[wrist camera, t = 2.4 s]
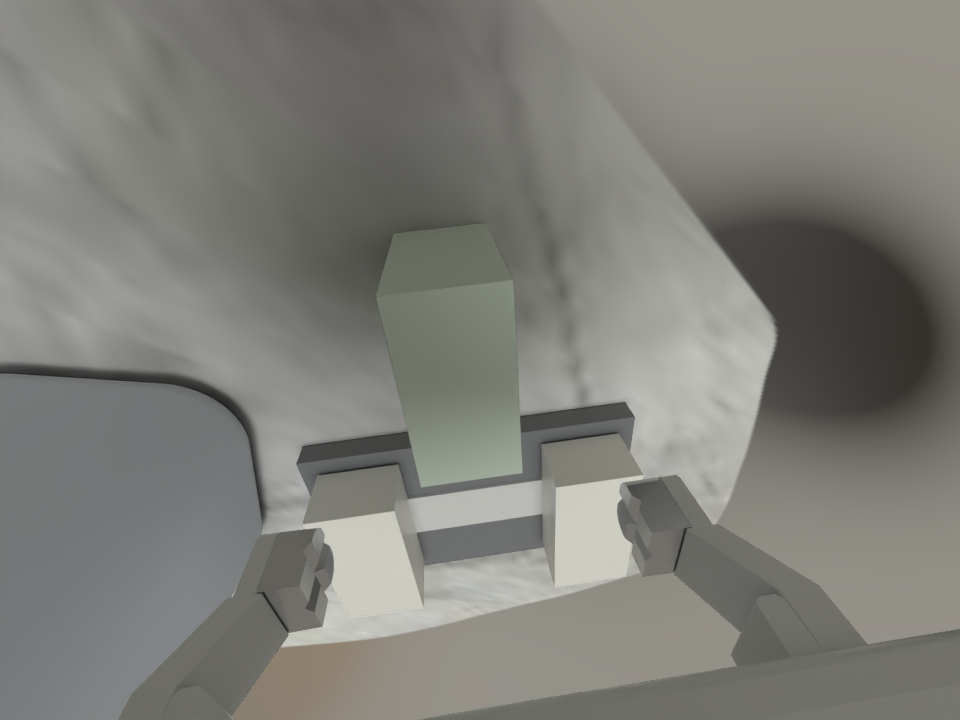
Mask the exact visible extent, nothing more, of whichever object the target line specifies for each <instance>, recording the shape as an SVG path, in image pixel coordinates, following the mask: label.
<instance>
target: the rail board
mask: <svg viewBox="0 0 960 720" xmlns="http://www.w3.org/2000/svg"><path fill="white" fill-rule="evenodd" d="M634 419H635V417H634V415H633V414H632V412H631V411H630V409H629V408H628V406H627V405H626V403H618V404H611V405H604V406H597V407H589V408H582V409H575V410H567V411H560V412H553V413H545V414H538V415H531V416H524V417H520V430H521V450H522V471H523V473H519V474H512V475H505V476H498V477H491V478H484V479H477V480H470V481H463V482H456V483H449V484H442V485H435V486H428V487H421V485H420V481H419V477H418V473H417V468H416V464H415V460H414V456H413V452H412V447H411V443H410V439H409V435H408V432H407V433H400V434H392V435H385V436H378V437H371V438H363V439H356V440H349V441H341V442H334V443H327V444H320V445H312V446H305V447H303V448H302V450H301V453H300V456H299V458H298V461H297V467H298V469H299V471H300V473H301V475H302V478H303V480H304V482H305V484H306V487H307V489H308V491H309V493H310V495H311V498H310V501H309V504H308V507H307V511H306V514H305V517H304V521H303V524H302V525H303V527H304V529H313V528H322V530H323V532H324V534H325V538H324V543H326V544H327V545H329V546H330V547H331V550H332V552H333V558H334V573H333V578H332V583H331V584H332V586H333V588H334V590H335V592H336V594H337V596H338V598H339V600H340V602H341V604H342V606H343V608H344V610H345V612H346V614H347V616H348V618H349V619H356V618H362V617H369V616H375V615H381V614H388V613H394V612H401V611H407V610H414V609H420V608H424V565H430V564H437V563H444V562H450V561H457V560H463V559H470V558H477V557H483V556H490V555H497V554H503V553H510V552H516V551H523V550H530V549H536V548H543V547H544V549H545V553H546V556H547V560H548V564H549V568H550V572H551V576H552V579H553V583H554V587H561V586H568V585H574V584H581V583H587V582H593V581H600V580H606V579H613V578H619V577H626V573H627V567H628V561H629V556H630V550H631V544H632V543H631V542H629V541H628V540H627V539H625V538H624V535H623V533H622V531H621V528H620V525H619V522H618V515H617V505H618V502H619V501H620V500H621V499H622V497H621V495H620V493H619V489H620V485H621V484H622V483H624V482H630V481H636V480H643V474H642V472H641V470H640V468H639V467H638V465H637V463H636V462H635V460H634V458H633V456H632V455H631V453H630V447H631V440H632V433H633V426H634Z"/></svg>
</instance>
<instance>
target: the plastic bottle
mask: <svg viewBox="0 0 960 720" xmlns="http://www.w3.org/2000/svg"><path fill="white" fill-rule="evenodd" d="M261 532H262V518H261V512H260V506H259V499H258V493H257V487H256V481H255V475H254V469H253V462H252V456H251V450H250V444H249V440H248V436H247V434H246V432H245V430H244V428H243V426H242V425H241V423H240V422H239V421H238V419H237V418H236V417H235V416H234V415H233V414H232V413H231V412H230V411H229V410H228V409H227V408H226V407H225V406H223V405H222V404H221V403H219V402H217V401H216V400H214V399H213V398H211V397H209V396H207V395H205V394H203V393H200V392H198V391H195V390H192V389H189V388H186V387H182V386H177V385H172V384H162V383H147V382H131V381H116V380H101V379H85V378H70V377H54V376H39V375H23V374H0V720H118V719H119V717H120V715H121V713H122V711H123V709H124V707H125V705H126V704H127V702H128V700H129V698H130V696H131V694H132V693H133V692H134V691H135V690H136V689H137V688H138V687H139V686H140V685H141V684H142V683H143V682H144V681H145V680H146V679H147V678H148V677H149V676H150V675H151V674H152V673H153V672H154V671H155V670H156V669H157V668H158V667H159V666H160V665H161V664H162V663H163V662H164V661H165V660H166V659H167V658H168V657H169V656H170V655H171V654H172V653H173V652H174V651H175V650H176V649H177V648H178V647H179V646H180V645H181V644H182V643H183V642H184V641H185V640H186V639H187V638H188V637H189V636H190V635H191V634H192V633H193V632H194V631H195V630H196V629H197V628H198V627H199V626H200V625H201V624H202V623H203V622H204V621H205V620H206V619H207V618H208V617H209V616H210V615H211V614H212V613H213V612H214V611H215V610H216V609H217V608H218V607H219V606H220V605H221V604H222V603H223V602H224V601H225V600H226V599H227V598H231V597H232V595H233V593H234V591H235V589H236V587H237V585H238V583H239V581H240V579H241V576H242V574H243V571H244V569H245V567H246V564H247V562H248V559H249V557H250V554H251V552H252V549H253V547H254V545H255V542H256V541H257V539H258V538H259V537H260V536H261Z"/></svg>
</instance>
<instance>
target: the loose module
mask: <svg viewBox="0 0 960 720" xmlns="http://www.w3.org/2000/svg"><path fill="white" fill-rule="evenodd" d="M376 300H377V305H378V309H379V313H380V317H381V321H382V326H383V330H384V334H385V338H386V342H387V347H388V351H389V355H390V359H391V363H392V368H393V372H394V376H395V380H396V384H397V389H398V393H399V397H400V401H401V405H402V410H403V414H404V418H405V422H406V426H407V431H408V435H409V439H410V443H411V447H412V452H413V456H414V460H415V464H416V468H417V473H418V477H419V481H420V485H421V487H428V486H435V485H442V484H449V483H456V482H463V481H470V480H477V479H484V478H491V477H498V476H505V475H512V474H519V473H523V471H522V450H521V430H520V409H519V388H518V367H517V346H516V325H515V304H514V283H513V278H512V276H511V274H510V272H509V270H508V268H507V266H506V264H505V262H504V260H503V258H502V256H501V254H500V252H499V250H498V247H497V245H496V243H495V241H494V239H493V237H492V235H491V233H490V231H489V229H488V227H487V225H486V223H479V224H471V225H462V226H454V227H445V228H436V229H428V230H419V231H411V232H402V233H394V234H393V238H392V241H391V245H390V248H389V252H388V255H387V259H386V262H385V266H384V269H383V273H382V276H381V280H380V283H379V287H378V290H377V294H376Z"/></svg>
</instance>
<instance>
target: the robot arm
mask: <svg viewBox="0 0 960 720" xmlns="http://www.w3.org/2000/svg"><path fill="white" fill-rule="evenodd" d="M619 493H620V495H621V497H622V499H621V500H620V501H619V502H618V505H617V515H618V522H619V525H620V528H621V531H622V533H623V535H624V538H625V539H627V540H628V541H629V542H631V543H632V544H633V548H632V555H633V557H634V559H635V562H636V564H637V566H638V568H639V570H640V572H641V574H642V576H643V577H644V576H652V575H659V574H668V573H675V575H676V576H677V577H678V578H679V579H680V580H681V581H683V582H684V583H685V584H686V585H687V586H688V587H689V588H691V589H692V590H693V591H694V592H695V593H696V594H697V595H699V596H700V597H701V598H702V599H703V600H704V601H705V602H707V603H708V604H709V605H710V606H711V607H712V608H713V609H715V610H716V611H717V612H718V613H719V614H720V615H721V616H723V617H724V618H725V619H726V620H727V621H728V622H729V623H731V624H732V625H733V626H734V627H735V628H736V629H737V630H739V631H740V632H741V633H740V635H739V637H738V640H737V642H736V644H735V646H734V648H733V651H732V654H731V656H732V658H733V659H734V661H735V663H736V665H737V666H735V667H729V668H723V669H717V670H711V671H705V672H699V673H693V674H686V675H680V676H675V677H669V678H662V679H656V680H650V681H644V682H638V683H632V684H626V685H620V686H614V687H609V688H603V689H596V690H591V691H584V692H578V693H572V694H566V695H561V696H554V697H548V698H542V699H537V700H530V701H524V702H518V703H512V704H506V705H500V706H494V707H488V708H482V709H477V710H471V711H464V712H458V713H452V714H446V715H440V716H434V717H428V718H422V719H417V720H960V629H957V630H951V631H945V632H939V633H933V634H927V635H921V636H915V637H909V638H903V639H897V640H891V641H885V642H880V643H873V644H867V643H866V642H865V641H864V639H863V638H862V637H861V636H860V634H859V633H858V632H857V631H856V630H855V628H854V627H853V626H852V625H851V624H850V622H849V621H848V620H847V619H846V617H844V615H843V614H842V613H841V611H840V610H839V609H838V608H837V606H836V605H835V604H834V603H833V602H832V600H831V599H830V598H829V597H828V595H827V594H826V593H825V592H824V591H823V589H822V588H821V587H820V586H819V585H818V584H816V583H814V582H813V581H811V580H809V579H808V578H806V577H805V576H803V575H801V574H800V573H798V572H796V571H795V570H793V569H791V568H789V567H788V566H786V565H785V564H783V563H781V562H780V561H778V560H776V559H775V558H773V557H772V556H770V555H768V554H767V553H765V552H763V551H762V550H760V549H758V548H756V547H755V546H753V545H752V544H750V543H749V542H747V541H745V540H744V539H742V538H740V537H739V536H737V535H735V534H734V533H732V532H730V531H729V530H727V529H726V528H724V527H722V526H720V525H719V524H714V525H713V524H712V523H711V521H710V520H709V519H708V517H707V516H706V514H705V513H704V511H703V510H702V508H701V507H700V506H699V504H698V503H697V501H696V500H695V498H694V497H693V496H692V494H691V493H690V491H689V490H688V488H687V487H686V485H685V484H684V483H683V481H682V480H681V478H680V477H678V476H677V475H671V476H665V477H658V478H656V477H655V478H649V479H643V480H636V481H630V482H624V483H622V484H621V485H620V489H619ZM324 538H325V534H324V532H323V530H322V528H313V529H305V530H296V531H288V532H280V533H272V534H265V535H261V536H260V537H259V538H258V539H257V541H256V542H255V545H254V547H253V549H252V552H251V554H250V557H249V559H248V562H247V564H246V567H245V569H244V571H243V574H242V576H241V579H240V581H239V584H238V586H237V589H236V591H235V593H234V596H233V597H232V598H227V599H226V600H225V601H224V602H223V603H222V604H221V605H220V606H219V607H218V608H217V609H216V610H215V611H214V612H213V613H212V614H211V615H210V616H209V617H208V618H207V619H206V620H205V621H204V622H203V623H202V624H201V625H200V626H199V627H198V628H197V629H196V630H195V631H194V632H193V633H192V634H191V635H190V636H189V637H188V638H187V639H186V640H185V641H184V642H183V643H182V644H181V645H180V646H179V647H178V648H177V649H176V650H175V651H174V652H173V653H172V654H171V655H170V656H169V657H168V658H167V659H166V660H165V661H164V662H163V663H162V664H161V665H160V666H159V667H158V668H157V669H156V670H155V671H154V672H153V673H152V674H151V675H150V676H149V677H148V678H147V679H146V680H145V681H144V682H143V683H142V684H141V685H140V686H139V687H138V688H137V689H136V690H135V691H134V692H133V693H132V694H131V696H130V698H129V700H128V702H127V704H126V705H125V707H124V709H123V711H122V713H121V715H120V717H119V719H118V720H235V719H234V718H233V717H232V715H233V714H234V712H235V711H236V709H237V708H238V707H239V705H240V704H241V702H242V701H243V700H244V698H245V697H246V695H247V694H248V692H249V691H250V690H251V688H252V687H253V685H254V684H255V682H256V681H257V679H258V678H259V677H260V675H261V674H262V672H263V671H264V669H265V668H266V667H267V665H268V664H269V662H270V661H271V659H272V658H273V657H274V655H275V654H276V652H277V651H278V650H279V648H280V647H281V645H282V644H283V642H284V641H285V640H286V638H287V637H288V633H290V632H296V631H301V630H307V629H312V628H317V627H322V626H323V621H324V616H325V612H326V607H327V602H328V599H327V597H326V595H325V593H324V591H325V590H326V589H327V588H328V586H329V585H330V584H331V583H332V578H333V573H334V558H333V552H332V550H331V547H330V546H329V545H327V544H326V543H324Z"/></svg>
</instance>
